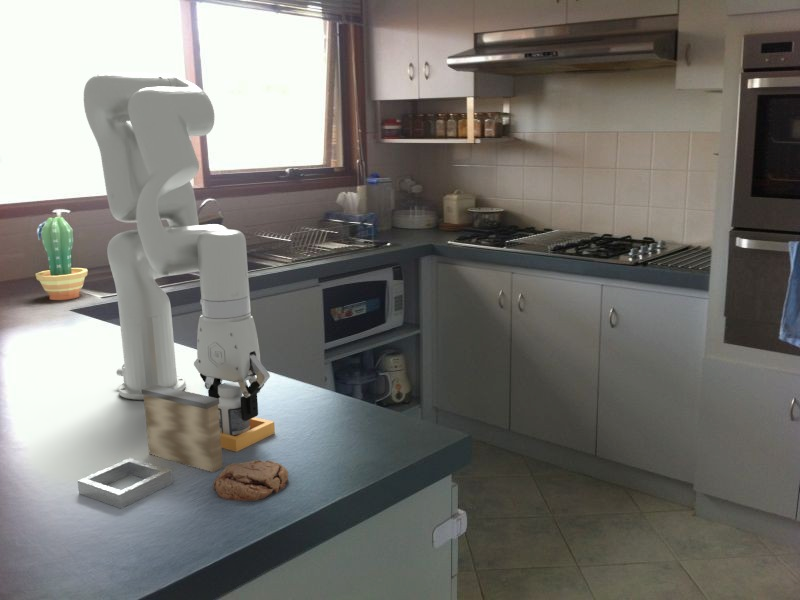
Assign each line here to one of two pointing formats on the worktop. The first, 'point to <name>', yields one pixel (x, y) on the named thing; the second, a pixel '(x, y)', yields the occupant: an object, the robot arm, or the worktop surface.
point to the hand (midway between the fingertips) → (233, 413)
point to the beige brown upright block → (183, 427)
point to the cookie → (250, 480)
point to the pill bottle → (231, 409)
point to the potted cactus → (59, 261)
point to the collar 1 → (153, 482)
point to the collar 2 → (248, 435)
